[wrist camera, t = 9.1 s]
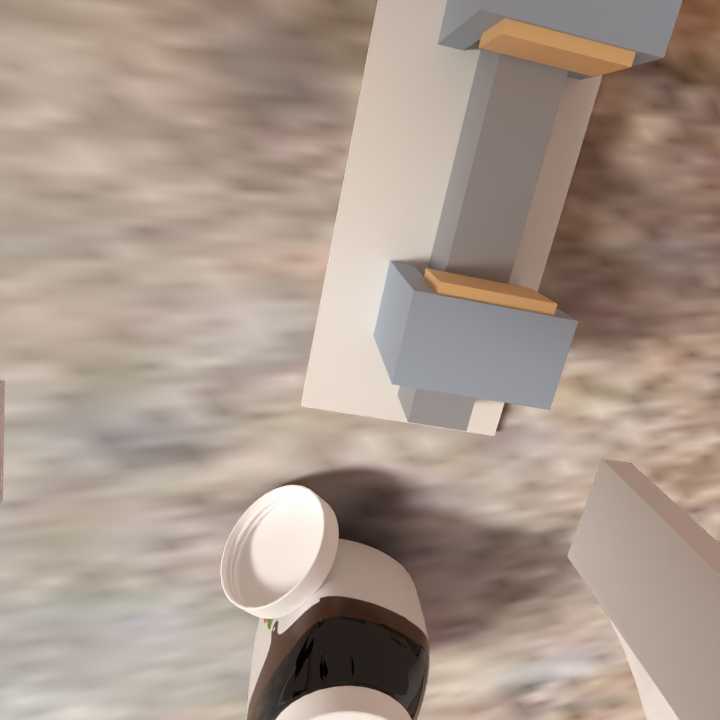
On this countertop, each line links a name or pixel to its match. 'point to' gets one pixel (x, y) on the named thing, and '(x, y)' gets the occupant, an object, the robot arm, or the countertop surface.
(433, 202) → the rail board
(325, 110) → the countertop surface
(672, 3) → the fitted finger
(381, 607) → the spread jar
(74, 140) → the countertop surface
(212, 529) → the countertop surface
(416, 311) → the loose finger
